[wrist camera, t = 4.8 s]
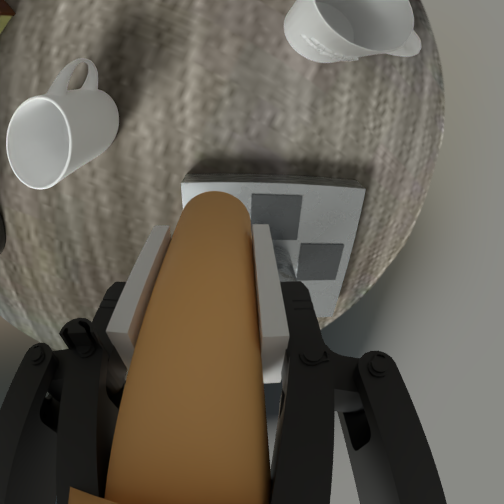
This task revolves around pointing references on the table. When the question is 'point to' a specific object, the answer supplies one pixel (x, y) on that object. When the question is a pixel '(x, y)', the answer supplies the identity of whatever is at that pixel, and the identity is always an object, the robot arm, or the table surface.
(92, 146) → the mug
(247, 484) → the tan wooden pestle
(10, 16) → the hardcover book
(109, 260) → the table surface
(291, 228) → the checkered knob plate
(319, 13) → the mug
